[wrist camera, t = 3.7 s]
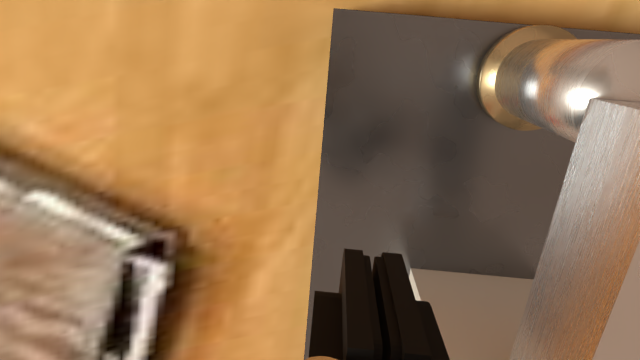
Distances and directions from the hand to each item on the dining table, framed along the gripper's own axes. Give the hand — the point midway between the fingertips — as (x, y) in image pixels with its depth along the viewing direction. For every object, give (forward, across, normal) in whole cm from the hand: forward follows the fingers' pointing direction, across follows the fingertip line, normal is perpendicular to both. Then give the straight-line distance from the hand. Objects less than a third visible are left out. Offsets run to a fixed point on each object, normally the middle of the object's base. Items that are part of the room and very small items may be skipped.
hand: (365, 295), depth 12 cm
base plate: (+10, -6, +3) cm, 12 cm away
